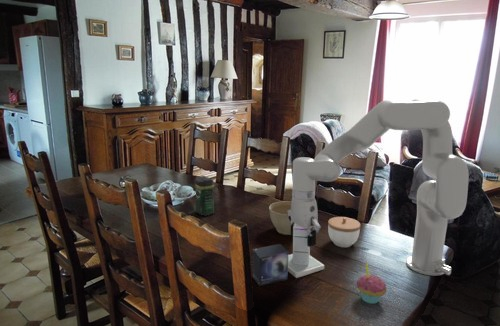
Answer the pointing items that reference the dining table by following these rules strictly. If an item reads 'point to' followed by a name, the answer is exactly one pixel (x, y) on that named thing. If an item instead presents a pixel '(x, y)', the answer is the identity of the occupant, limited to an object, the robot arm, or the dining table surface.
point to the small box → (270, 264)
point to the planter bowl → (281, 216)
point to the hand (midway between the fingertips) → (302, 240)
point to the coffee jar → (204, 195)
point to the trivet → (304, 267)
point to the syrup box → (300, 246)
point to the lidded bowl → (343, 231)
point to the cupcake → (371, 287)
